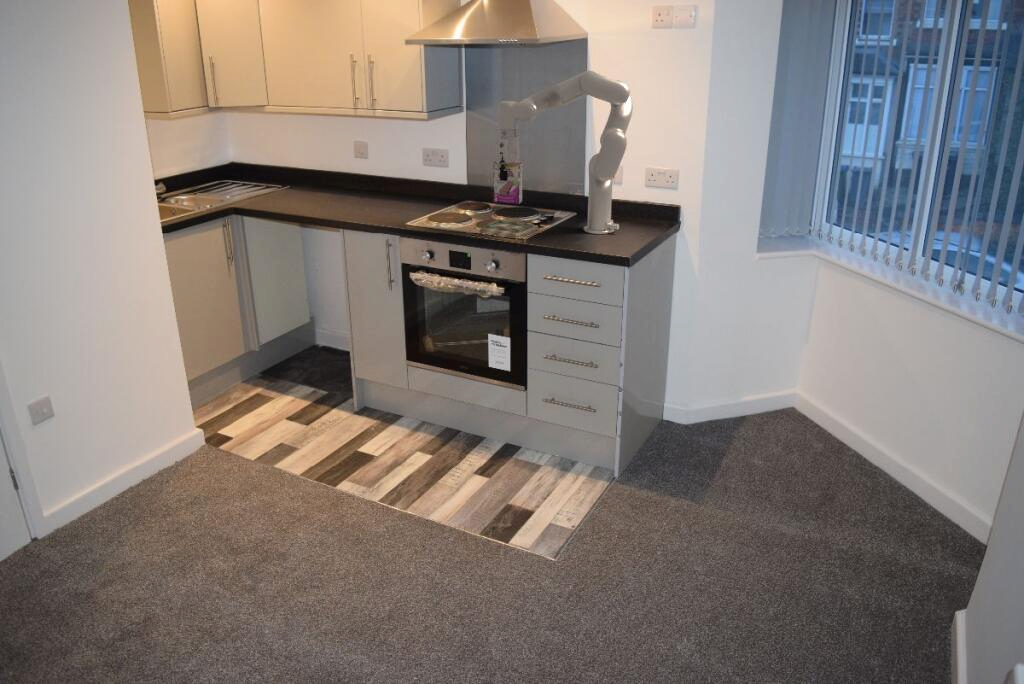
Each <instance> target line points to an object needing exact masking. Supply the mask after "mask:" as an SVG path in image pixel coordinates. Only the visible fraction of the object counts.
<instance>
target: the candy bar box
mask: <svg viewBox="0 0 1024 684" xmlns="http://www.w3.org/2000/svg"><path fill="white" fill-rule="evenodd" d="M497 161H498V159H497V160H494V161H493V191H492V193H493V195H492V196H493V197H492V198H493V203H500V204H501V203H502V204H513V205H514V204H516V205H517V204H518V205H520V204H521V203H522V202H523V175H524V174H523V173H524V171H523V170H524V169H523V168H524V167H523V165H524V162H522V161H518V162H514V163H511V164H508V165H507V170H506V171H507V181H502V180H500V170H499V167H498V165H497ZM503 163H505V162H503ZM503 166H505V165H503Z"/></svg>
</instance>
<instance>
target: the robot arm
mask: <svg viewBox="0 0 1024 684" xmlns="http://www.w3.org/2000/svg"><path fill="white" fill-rule="evenodd" d="M586 96H590V97H592V98H595V99H598V100H601V101H604V102H607V103H609V104H610V111H609V114H608V119H607V121H606V123H605V125H604V129H603V130H602V133H601V135H600V139H599V144H600V146H601V147H600V149H599V151H598V153H595V154H594V155H593V156H592V157H591V158H590V159H589V163H588V196H587V197H588V200H587V203H588V204H587V225H585V226H584V227H583V231H584V232H586V233H589V234H592V235H593V234H594V235H604V234H611V233H613V232H614V231H615V230H619V228H620V224H619V223H614V220H613V219H612V200H613V199H612V198H613V178H614V177H615V176H616V174H617V172H618V170H619V168H620V166H621V162H622V160H623V158H624V155H625V153H626V150H627V145H628V140H627V137H626V133H627V130H628V129H629V128H628V127H629V124H630V122H631V119H632V115H633V100H632V97H631V90H630V88H629V86H628V85H627V84H626V83H625V82H623V81H622V80H618V79H613V78H610V77H607V76H604V75H601V74H600V73H597V72H595V71H593V70H586V71H583V72H581V73H578V74H577V75H573V76H572V77H569V78H568V79H566V80H564V81H562V82H560V83H557V84H554V85H552V86H550V87H549V88H546V89H544V90H542V91H539V92H537V93H535V94H533V95H531V96H530V95H529V96H528V97H526V98H524V99H521V101H520V102H517V101H514V100H502V101H500V102H499V104H498V144H497V160H498V161H497V160H496V161H497V165H498V167H499V170H500V180H502V181H507V171H506V170H507V165H508V164H511V163H514V162H520V159H521V157H520V155H521V153H520V152H521V151H520V140H519V136H518V135H519V134H518V132H519V127H518V126H519V125H518V124H519V121H521V122H532V121H534V120H536V118H537V116H538V115H539V114H540V113H543V112H544V111H547V110H549V109H553V108H561V107H564V106H567V105H569V104H571V103H573V102H576V101H578V100H579V99H582V98H585V97H586ZM503 162H505V163H503ZM503 165H505V166H503Z"/></svg>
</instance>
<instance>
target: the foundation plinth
mask: <svg viewBox="0 0 1024 684" xmlns="http://www.w3.org/2000/svg"><path fill="white" fill-rule="evenodd" d="M536 230H538V231H539V225H535V224H533V223H526V222H521V221H513V220H506V219H500V218H499V219H497V220H493V221H491V222H488V223H486V224H484V227H481V228H479V232H480V233H485V234H490V235H489V236H491V235H496V236H495V237H498V236H503V237H502V238H504V237H510V238H516V239H515V240H518V239H517V238H519V237H522V236H524V235H526V236H528V235H530V234H529V233H531V234H533V233H535V232H537V231H536ZM534 231H535V232H534ZM532 232H533V233H532ZM480 233H479V234H480ZM485 234H484V235H485ZM527 234H528V235H527ZM524 237H525V236H524ZM510 238H509V239H510ZM522 238H523V237H522ZM519 239H520V238H519Z"/></svg>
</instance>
